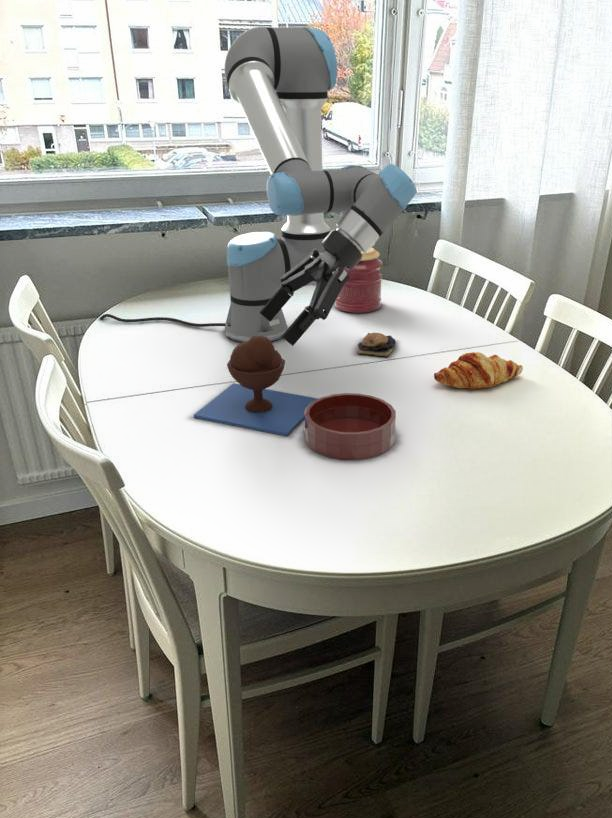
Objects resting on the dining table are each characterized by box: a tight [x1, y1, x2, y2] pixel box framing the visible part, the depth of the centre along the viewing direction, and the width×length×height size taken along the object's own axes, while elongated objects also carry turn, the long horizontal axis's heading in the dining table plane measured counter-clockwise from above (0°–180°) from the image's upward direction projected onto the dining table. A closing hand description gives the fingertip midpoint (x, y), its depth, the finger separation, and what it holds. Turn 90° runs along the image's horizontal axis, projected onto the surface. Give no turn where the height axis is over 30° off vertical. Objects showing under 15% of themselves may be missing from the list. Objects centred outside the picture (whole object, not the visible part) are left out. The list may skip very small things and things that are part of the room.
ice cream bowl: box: [226, 336, 286, 413], centre depth 141 cm, size 11×11×15 cm
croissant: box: [433, 351, 524, 390], centre depth 157 cm, size 21×10×8 cm, turn 110°
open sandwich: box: [357, 332, 397, 358], centre depth 173 cm, size 11×8×4 cm
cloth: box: [193, 383, 318, 437], centre depth 145 cm, size 20×16×1 cm
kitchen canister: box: [334, 246, 383, 314], centre depth 195 cm, size 13×13×18 cm
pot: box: [304, 392, 397, 461], centre depth 134 cm, size 17×17×5 cm
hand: (275, 328), depth 138 cm, fingers open, 13 cm apart
